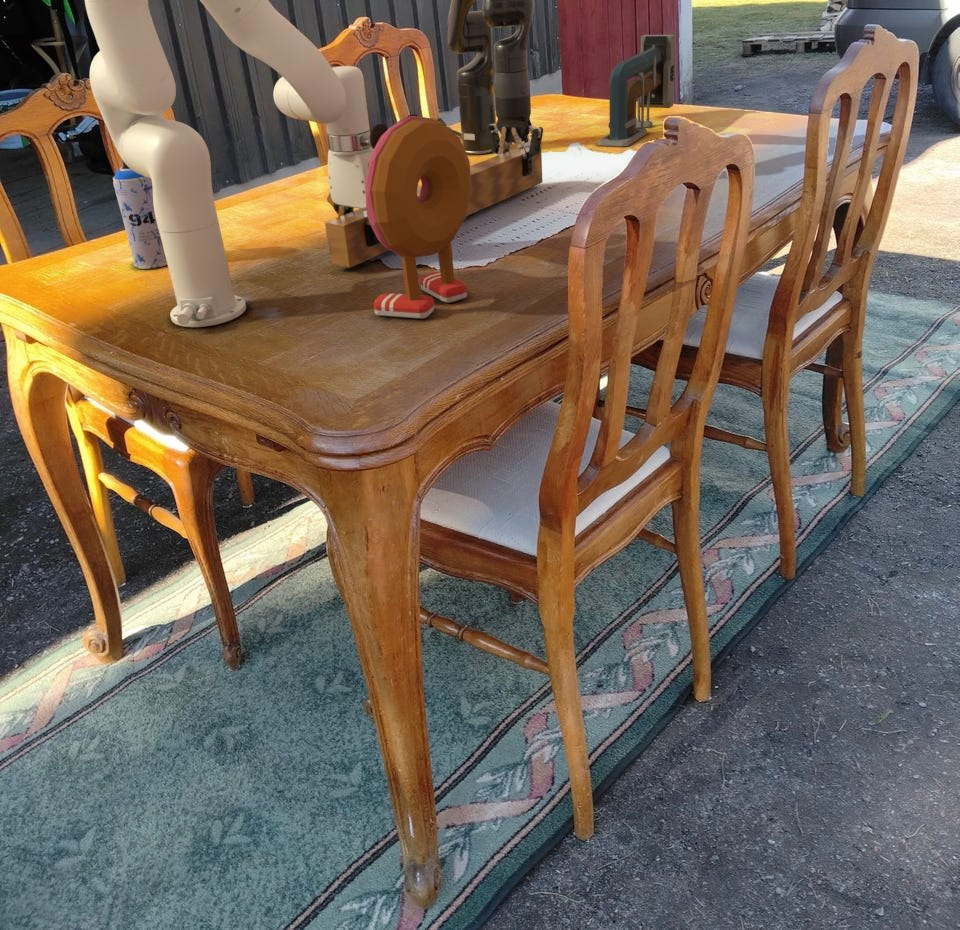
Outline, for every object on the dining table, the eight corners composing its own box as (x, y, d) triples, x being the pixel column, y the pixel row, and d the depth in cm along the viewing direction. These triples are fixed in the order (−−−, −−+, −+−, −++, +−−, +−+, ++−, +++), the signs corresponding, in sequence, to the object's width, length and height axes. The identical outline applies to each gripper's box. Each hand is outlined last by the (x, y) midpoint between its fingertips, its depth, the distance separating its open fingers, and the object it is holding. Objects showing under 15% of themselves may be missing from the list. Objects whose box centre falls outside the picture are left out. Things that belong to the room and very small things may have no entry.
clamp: (627, 146, 245) (627, 56, 234) (595, 145, 249) (593, 56, 238) (672, 117, 270) (675, 34, 260) (643, 116, 274) (644, 34, 263)
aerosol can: (133, 271, 187) (105, 166, 177) (134, 259, 194) (107, 157, 184) (174, 264, 189) (149, 160, 179) (174, 253, 195) (150, 152, 185)
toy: (445, 278, 171) (428, 100, 155) (490, 288, 165) (476, 104, 149) (359, 319, 157) (331, 128, 142) (404, 331, 151) (380, 133, 136)
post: (349, 267, 176) (343, 225, 172) (330, 263, 179) (324, 222, 175) (542, 182, 218) (541, 147, 214) (524, 180, 220) (523, 145, 216)
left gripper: (399, 141, 169) (410, 243, 178) (330, 134, 178) (343, 231, 187) (370, 150, 164) (383, 254, 173) (301, 142, 173) (316, 242, 182)
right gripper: (550, 91, 203) (552, 173, 212) (495, 88, 211) (500, 167, 220) (530, 98, 198) (533, 181, 207) (474, 94, 206) (480, 175, 215)
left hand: (362, 241), depth 180 cm, fingers closed on post, 4 cm apart
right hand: (516, 173), depth 213 cm, fingers closed on post, 5 cm apart
